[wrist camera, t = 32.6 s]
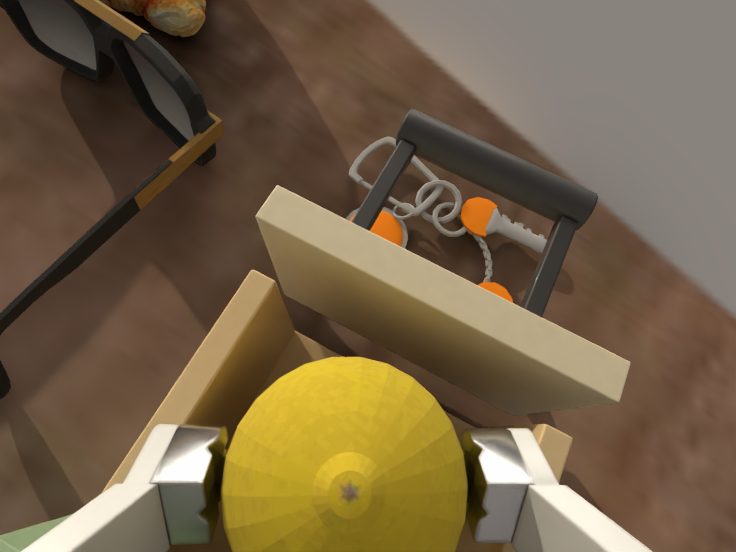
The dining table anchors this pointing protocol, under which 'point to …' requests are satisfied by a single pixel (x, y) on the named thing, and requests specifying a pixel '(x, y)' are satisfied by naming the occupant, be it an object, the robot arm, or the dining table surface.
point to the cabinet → (27, 535)
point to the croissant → (166, 14)
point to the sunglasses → (152, 92)
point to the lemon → (344, 465)
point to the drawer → (402, 309)
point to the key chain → (474, 215)
